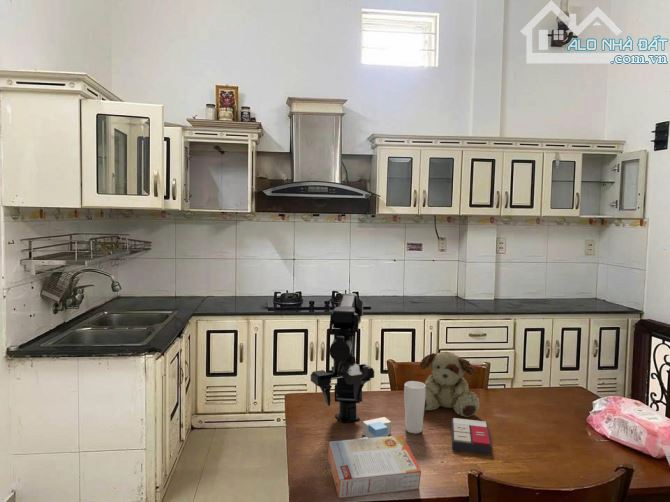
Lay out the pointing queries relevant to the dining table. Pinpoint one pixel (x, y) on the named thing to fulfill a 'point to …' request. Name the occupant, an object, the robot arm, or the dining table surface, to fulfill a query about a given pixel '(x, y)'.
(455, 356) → the dog
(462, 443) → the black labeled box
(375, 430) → the plug
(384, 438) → the cracker box
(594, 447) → the dining table surface
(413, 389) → the drinking glass
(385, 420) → the plug
